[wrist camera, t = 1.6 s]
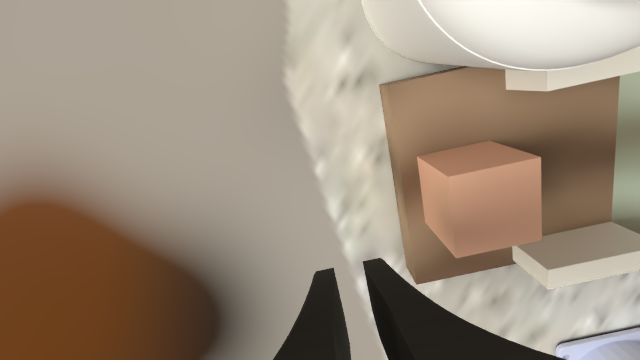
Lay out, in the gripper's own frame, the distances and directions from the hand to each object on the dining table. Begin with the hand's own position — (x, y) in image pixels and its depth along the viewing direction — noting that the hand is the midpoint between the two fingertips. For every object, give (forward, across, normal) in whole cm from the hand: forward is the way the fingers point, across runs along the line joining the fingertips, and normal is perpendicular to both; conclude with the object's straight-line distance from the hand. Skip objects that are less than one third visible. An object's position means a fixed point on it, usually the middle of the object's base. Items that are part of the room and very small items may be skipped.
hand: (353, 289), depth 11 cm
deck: (+9, -16, 0) cm, 19 cm away
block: (+7, -7, 0) cm, 10 cm away
